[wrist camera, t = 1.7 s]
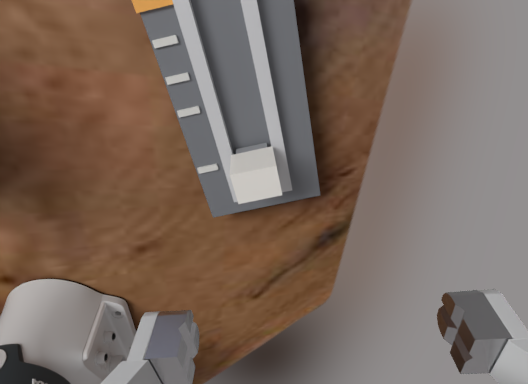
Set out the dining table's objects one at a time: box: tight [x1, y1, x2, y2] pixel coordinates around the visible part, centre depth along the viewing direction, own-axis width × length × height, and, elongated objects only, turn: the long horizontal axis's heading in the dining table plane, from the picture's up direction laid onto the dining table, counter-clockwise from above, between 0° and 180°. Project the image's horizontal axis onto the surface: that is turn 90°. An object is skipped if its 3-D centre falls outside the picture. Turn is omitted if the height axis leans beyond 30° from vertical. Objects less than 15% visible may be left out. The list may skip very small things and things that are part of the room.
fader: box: [230, 143, 282, 204], centre depth 31 cm, size 3×4×5 cm
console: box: [132, 0, 320, 217], centre depth 30 cm, size 30×12×4 cm, turn 12°
